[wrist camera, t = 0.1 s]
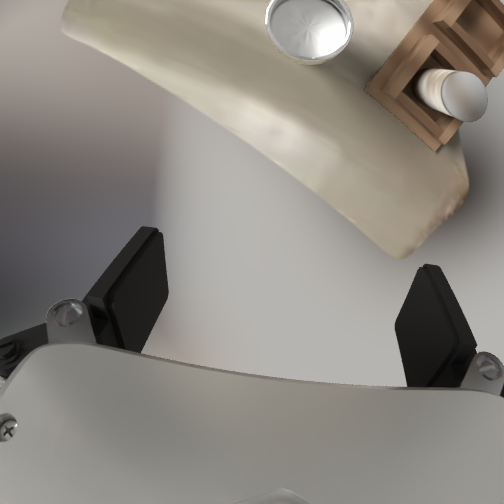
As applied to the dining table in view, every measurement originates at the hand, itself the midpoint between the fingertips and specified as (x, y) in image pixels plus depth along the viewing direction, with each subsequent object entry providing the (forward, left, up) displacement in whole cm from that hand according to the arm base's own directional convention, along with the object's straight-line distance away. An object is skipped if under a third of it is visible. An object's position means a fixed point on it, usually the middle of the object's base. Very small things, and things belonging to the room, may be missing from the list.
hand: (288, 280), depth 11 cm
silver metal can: (-11, 0, -31) cm, 33 cm away
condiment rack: (-13, +18, -31) cm, 39 cm away
